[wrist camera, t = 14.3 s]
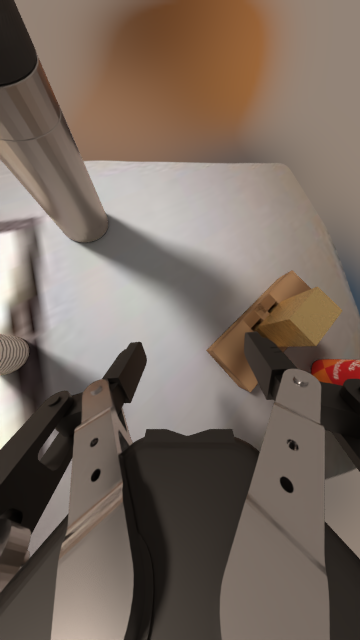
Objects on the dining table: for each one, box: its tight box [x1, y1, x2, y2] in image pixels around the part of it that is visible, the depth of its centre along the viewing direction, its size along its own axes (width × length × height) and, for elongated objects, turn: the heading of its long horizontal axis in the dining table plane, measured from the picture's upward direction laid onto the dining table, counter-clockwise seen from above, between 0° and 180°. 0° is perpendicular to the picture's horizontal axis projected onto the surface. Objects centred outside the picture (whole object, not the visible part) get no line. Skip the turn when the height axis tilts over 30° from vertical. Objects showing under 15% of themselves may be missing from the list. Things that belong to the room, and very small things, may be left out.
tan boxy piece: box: [251, 287, 342, 347], centre depth 24 cm, size 5×7×11 cm, turn 133°
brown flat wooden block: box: [206, 271, 311, 392], centre depth 27 cm, size 9×24×4 cm, turn 132°
